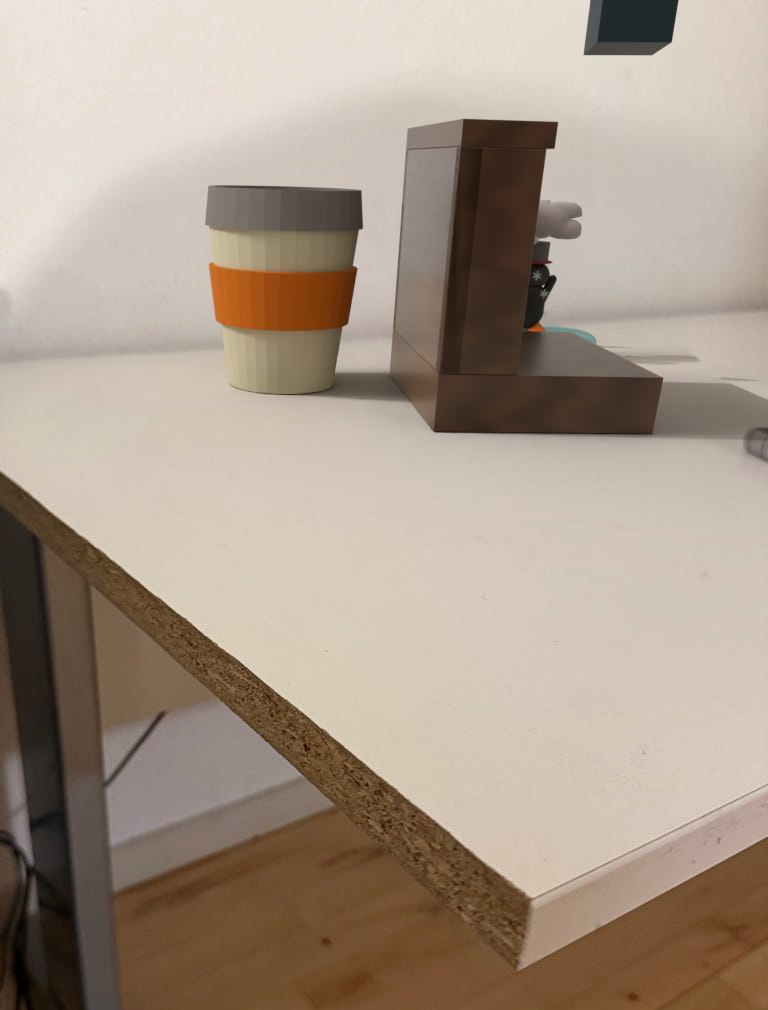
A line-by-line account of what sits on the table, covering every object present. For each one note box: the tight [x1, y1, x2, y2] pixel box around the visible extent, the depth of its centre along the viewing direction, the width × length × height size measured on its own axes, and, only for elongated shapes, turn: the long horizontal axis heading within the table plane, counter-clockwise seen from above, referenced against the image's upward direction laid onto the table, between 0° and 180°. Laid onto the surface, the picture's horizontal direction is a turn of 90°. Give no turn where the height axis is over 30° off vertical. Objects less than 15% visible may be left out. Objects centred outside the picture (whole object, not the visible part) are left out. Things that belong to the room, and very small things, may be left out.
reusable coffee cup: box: [204, 184, 364, 395], centre depth 78 cm, size 12×13×15 cm
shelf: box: [389, 118, 664, 435], centre depth 72 cm, size 16×20×20 cm
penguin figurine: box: [523, 199, 598, 345], centre depth 94 cm, size 20×11×15 cm, turn 78°
